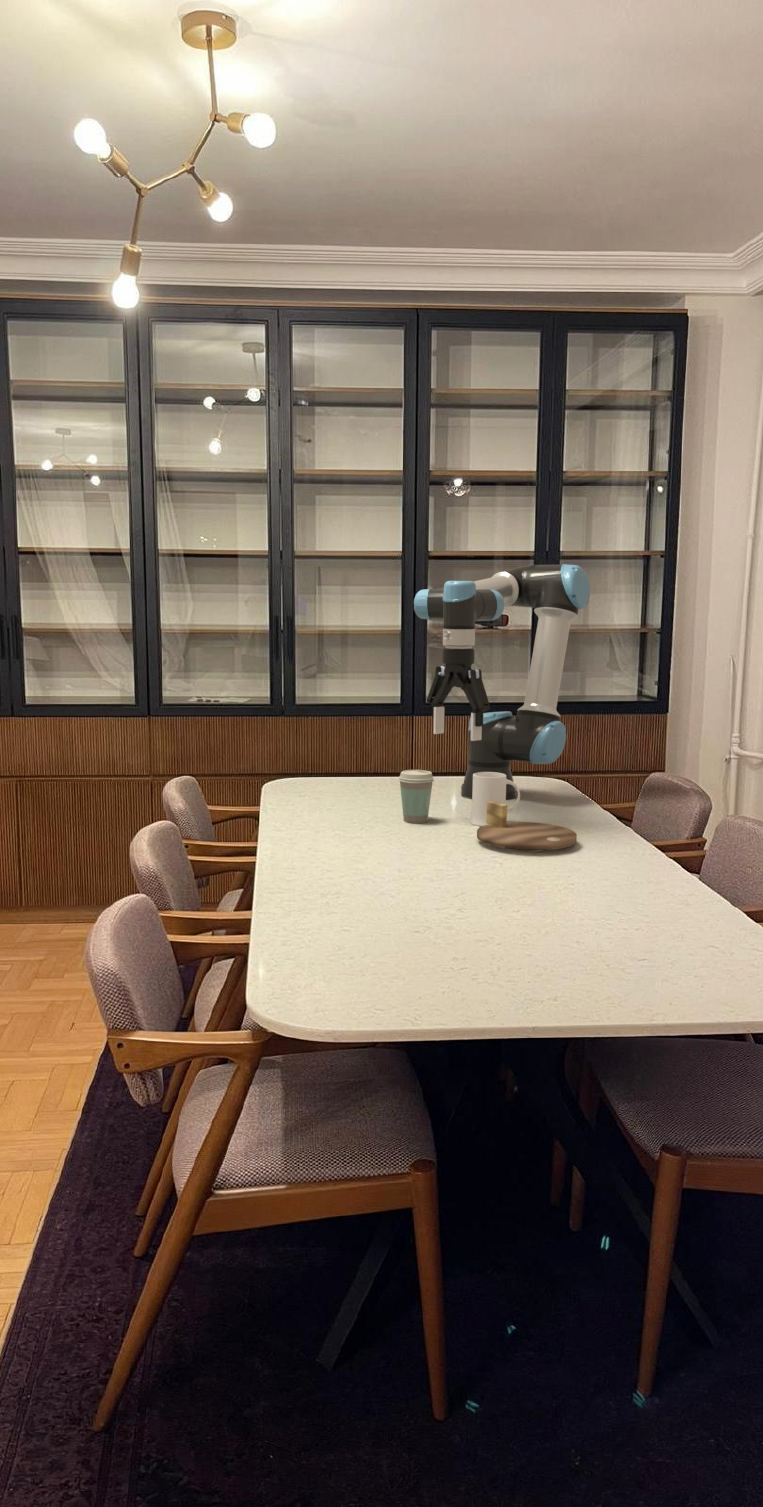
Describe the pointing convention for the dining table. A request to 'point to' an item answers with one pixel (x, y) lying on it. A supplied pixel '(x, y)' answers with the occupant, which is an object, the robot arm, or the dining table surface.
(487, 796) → the mug
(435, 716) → the robot arm
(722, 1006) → the dining table surface
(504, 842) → the turntable
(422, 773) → the coffee cup
